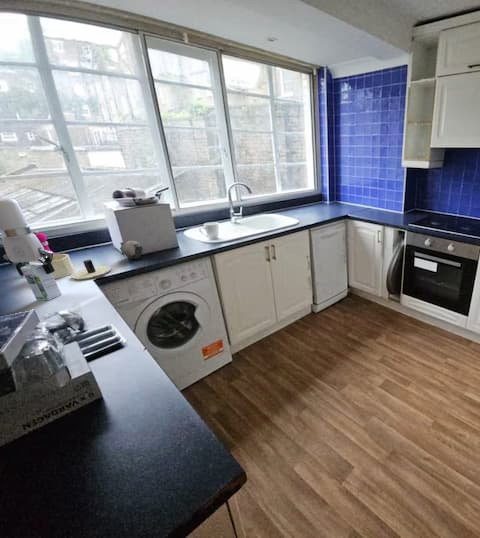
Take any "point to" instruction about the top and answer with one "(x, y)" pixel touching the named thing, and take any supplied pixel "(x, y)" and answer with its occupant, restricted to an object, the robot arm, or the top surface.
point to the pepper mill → (42, 240)
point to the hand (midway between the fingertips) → (37, 273)
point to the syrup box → (41, 282)
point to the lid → (90, 271)
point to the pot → (60, 265)
